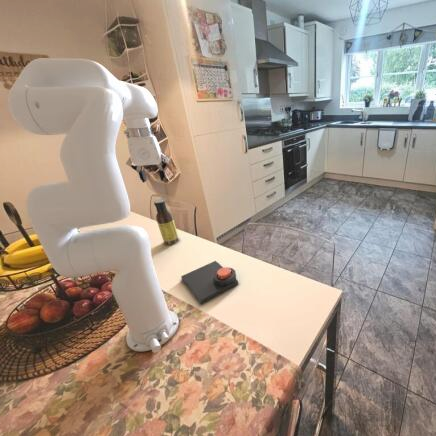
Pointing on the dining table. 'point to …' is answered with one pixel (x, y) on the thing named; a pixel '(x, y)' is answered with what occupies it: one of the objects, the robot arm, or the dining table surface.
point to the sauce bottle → (166, 223)
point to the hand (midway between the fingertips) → (154, 180)
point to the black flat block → (208, 282)
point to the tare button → (224, 273)
